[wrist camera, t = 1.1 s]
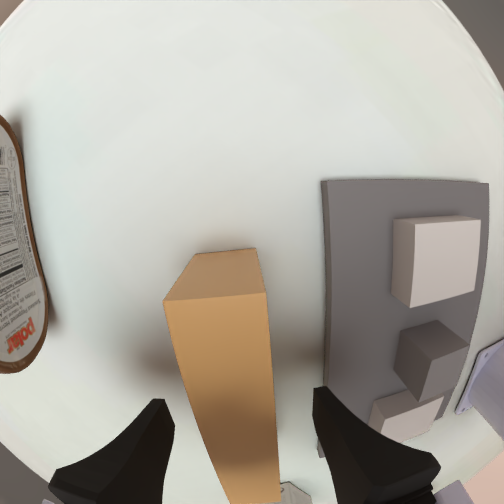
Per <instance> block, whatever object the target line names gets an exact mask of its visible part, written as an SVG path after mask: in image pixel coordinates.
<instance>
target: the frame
mask: <svg viewBox="0 0 504 504" xmlns="http://www.w3.org/2000/svg"><path fill="white" fill-rule="evenodd" d="M163 306H164V310H165V315H166V319H167V323H168V327H169V332H170V336H171V339H172V343H173V347H174V351H175V355H176V358H177V362H178V365H179V369H180V372H181V376H182V379H183V383H184V386H185V389H186V392H187V395H188V398H189V402H190V405H191V408H192V411H193V414H194V416H195V419H196V422H197V425H198V428H199V431H200V433H201V436H202V439H203V441H204V444H205V446H206V449H207V452H208V454H209V457H210V459H211V462H212V464H213V466H214V469H215V471H216V473H217V476H218V478H219V480H220V483H221V485H222V487H223V489H224V491H225V494H226V496H227V498H228V500H229V502H230V504H259V503H271V502H280V501H281V489H280V473H279V457H278V442H277V427H276V413H275V399H274V386H273V372H272V359H271V347H270V334H269V322H268V310H267V298H266V290H265V286H264V282H263V277H262V273H261V269H260V265H259V260H258V256H257V252H256V248H252V249H242V250H232V251H222V252H212V253H203V254H195V255H194V257H193V258H192V259H191V261H190V262H189V264H188V265H187V266H186V268H185V269H184V271H183V272H182V274H181V275H180V277H179V278H178V279H177V281H176V282H175V284H174V285H173V287H172V288H171V290H170V291H169V293H168V294H167V295H166V297H165V298H164V300H163Z"/></svg>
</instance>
